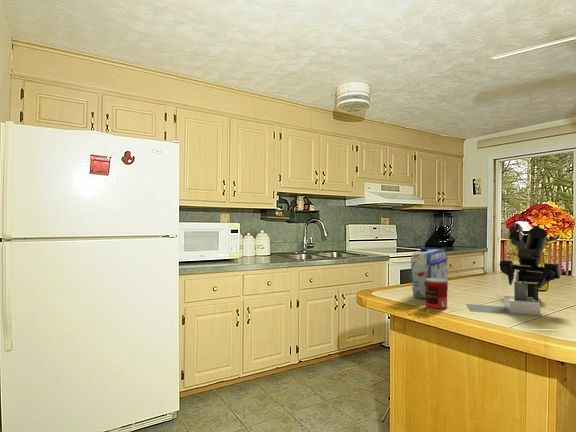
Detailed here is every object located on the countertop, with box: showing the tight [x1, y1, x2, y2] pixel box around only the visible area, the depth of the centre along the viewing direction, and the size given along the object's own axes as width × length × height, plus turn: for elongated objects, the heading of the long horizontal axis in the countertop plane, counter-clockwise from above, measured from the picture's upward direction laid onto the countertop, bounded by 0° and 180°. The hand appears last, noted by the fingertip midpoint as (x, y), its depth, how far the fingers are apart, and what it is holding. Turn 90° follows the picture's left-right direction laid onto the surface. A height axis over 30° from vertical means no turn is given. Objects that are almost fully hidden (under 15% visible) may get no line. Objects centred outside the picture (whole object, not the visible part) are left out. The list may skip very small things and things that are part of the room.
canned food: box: [425, 278, 448, 311], centre depth 132 cm, size 8×8×11 cm
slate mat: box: [465, 303, 546, 318], centre depth 127 cm, size 23×12×1 cm, turn 70°
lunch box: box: [410, 246, 449, 300], centre depth 153 cm, size 28×10×22 cm, turn 142°
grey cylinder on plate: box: [503, 281, 541, 316], centre depth 126 cm, size 9×9×10 cm
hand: (524, 286), depth 129 cm, fingers open, 9 cm apart
